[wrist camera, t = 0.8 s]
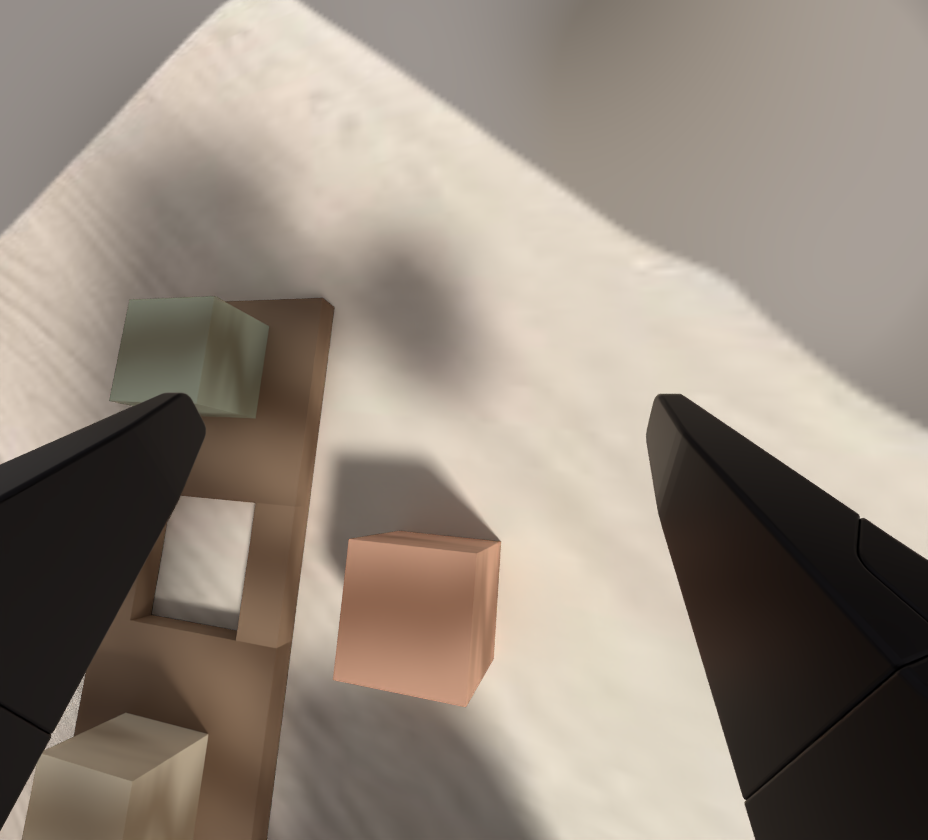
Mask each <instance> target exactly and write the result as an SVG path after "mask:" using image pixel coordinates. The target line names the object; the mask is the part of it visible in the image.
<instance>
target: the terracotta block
mask: <svg viewBox="0 0 928 840" xmlns="http://www.w3.org/2000/svg"><path fill="white" fill-rule="evenodd" d="M500 550H501V542H500V541H491V540H481V539H472V538H462V537H453V536H443V535H434V534H424V533H415V532H405V531H394V532H388V533H382V534H376V535H370V536H364V537H358V538H352V539H349V542H348V551H347V560H346V569H345V578H344V586H343V595H342V604H341V613H340V622H339V631H338V640H337V649H336V658H335V666H334V675H333V680H335V681H340V682H345V683H350V684H355V685H360V686H365V687H370V688H375V689H379V690H384V691H389V692H394V693H399V694H404V695H409V696H414V697H419V698H424V699H428V700H433V701H438V702H443V703H448V704H453V705H458V706H463V707H466V706H467V704H468V703H469V701H470V699H471V697H472V696H473V694H474V692H475V691H476V689H477V687H478V685H479V684H480V682H481V680H482V678H483V677H484V675H485V673H486V671H487V670H488V668H489V666H490V664H491V663H492V661H493V659H494V645H495V629H496V613H497V598H498V582H499V566H500Z"/></svg>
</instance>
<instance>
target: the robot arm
mask: <svg viewBox="0 0 928 840" xmlns="http://www.w3.org/2000/svg"><path fill="white" fill-rule="evenodd" d="M205 436H206V426H205V423H204V421H203V419H202V417H201V416H200V414H199V412H198V410H197V408H196V406H195V404H194V402H193V400H192V399H191V397H190V396H189V395H187V394H185V393H170V392H169V393H162V394H160V395H158V396H155V397H153V398H151V399H148V400H146V401H144V402H142V403H139V404H137V405H135V406H133V407H130V408H128V409H126V410H123V411H121V412H119V413H117V414H114V415H112V416H110V417H108V418H105V419H103V420H101V421H98V422H96V423H94V424H92V425H89V426H87V427H85V428H82V429H80V430H78V431H76V432H73V433H71V434H69V435H67V436H64V437H62V438H60V439H57V440H55V441H53V442H51V443H48V444H46V445H44V446H42V447H39V448H37V449H35V450H32V451H30V452H28V453H26V454H23V455H21V456H19V457H17V458H14V459H12V460H10V461H7V462H5V463H3V464H1V465H0V831H1V829H2V827H3V825H4V823H5V821H6V819H7V818H8V816H9V814H10V812H11V810H12V808H13V807H14V805H15V803H16V801H17V799H18V797H19V795H20V794H21V792H22V790H23V788H24V786H25V784H26V782H27V781H28V779H29V777H30V775H31V773H32V771H33V770H34V768H35V766H36V764H37V762H38V760H39V758H40V757H41V755H42V753H43V751H44V749H45V747H46V746H47V744H48V742H49V740H50V738H51V733H53V732H54V730H55V728H56V726H57V724H58V722H59V721H60V719H61V717H62V715H63V713H64V711H65V710H66V708H67V706H68V704H69V702H70V700H71V698H72V697H73V695H74V693H75V691H76V689H77V687H78V686H79V684H80V682H81V680H82V678H83V676H84V674H85V673H86V671H87V669H88V667H89V665H90V663H91V662H92V660H93V658H94V656H95V654H96V652H97V650H98V649H99V647H100V645H101V643H102V641H103V639H104V638H105V636H106V634H107V632H108V630H109V628H110V626H111V625H112V623H113V621H114V619H115V617H116V615H117V614H118V612H119V610H120V608H121V606H122V604H123V602H124V601H125V599H126V597H127V595H128V593H129V591H130V590H131V588H132V586H133V584H134V582H135V580H136V578H137V577H138V575H139V573H140V571H141V569H142V567H143V566H144V564H145V562H146V560H147V558H148V556H149V555H150V553H151V551H152V549H153V547H154V545H155V543H156V542H157V540H158V538H159V536H160V534H161V532H162V531H163V529H164V527H165V525H166V523H167V521H168V519H169V518H170V516H171V514H172V512H173V510H174V508H175V506H176V504H177V502H178V500H179V498H180V496H181V494H182V492H183V489H184V487H185V485H186V482H187V480H188V477H189V475H190V472H191V470H192V468H193V465H194V463H195V460H196V458H197V455H198V453H199V451H200V448H201V446H202V443H203V441H204V439H205ZM646 442H647V448H648V455H649V461H650V467H651V473H652V479H653V485H654V491H655V498H656V504H657V509H658V514H659V518H660V522H661V525H662V529H663V532H664V535H665V539H666V542H667V545H668V549H669V552H670V555H671V559H672V562H673V565H674V569H675V572H676V575H677V579H678V582H679V586H680V589H681V592H682V596H683V599H684V602H685V606H686V609H687V612H688V616H689V619H690V622H691V626H692V629H693V632H694V636H695V639H696V642H697V646H698V649H699V652H700V656H701V659H702V662H703V666H704V669H705V672H706V676H707V679H708V682H709V686H710V689H711V692H712V696H713V699H714V702H715V706H716V709H717V712H718V716H719V719H720V722H721V726H722V729H723V732H724V736H725V739H726V742H727V746H728V749H729V752H730V756H731V759H732V762H733V766H734V769H735V772H736V776H737V779H738V782H739V786H740V789H741V792H742V796H743V798H744V799H745V800H746V801H745V807H746V810H747V814H748V817H749V820H750V824H751V827H752V830H753V834H754V837H755V840H928V560H927V559H925V558H924V557H922V556H921V555H919V554H918V553H916V552H915V551H913V550H912V549H910V548H909V547H907V546H905V545H904V544H902V543H901V542H899V541H898V540H896V539H895V538H893V537H892V536H890V535H889V534H887V533H886V532H884V531H883V530H881V529H880V528H878V527H877V526H876V525H874V524H873V523H871V522H870V521H868V520H867V519H865V518H861V519H860V516H859V514H858V513H856V512H855V511H853V510H852V509H850V508H849V507H847V506H846V505H844V504H843V503H841V502H840V501H838V500H837V499H835V498H834V497H832V496H831V495H830V494H828V493H827V492H825V491H824V490H822V489H821V488H819V487H818V486H816V485H815V484H813V483H812V482H810V481H809V480H807V479H806V478H804V477H803V476H802V475H800V474H799V473H797V472H796V471H794V470H793V469H791V468H790V467H788V466H787V465H785V464H784V463H782V462H781V461H779V460H778V459H776V458H775V457H774V456H772V455H771V454H769V453H768V452H766V451H765V450H763V449H762V448H760V447H759V446H757V445H756V444H754V443H753V442H751V441H750V440H748V439H747V438H745V437H744V436H743V435H741V434H740V433H738V432H737V431H735V430H734V429H732V428H731V427H729V426H728V425H726V424H725V423H723V422H722V421H720V420H719V419H717V418H716V417H715V416H713V415H712V414H710V413H709V412H707V411H706V410H704V409H703V408H701V407H700V406H698V405H697V404H695V403H694V402H692V401H691V400H689V399H688V398H687V397H685V396H683V395H682V394H658V395H657V396H656V397H655V399H654V402H653V406H652V410H651V414H650V418H649V422H648V427H647V432H646Z"/></svg>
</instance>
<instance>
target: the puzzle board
mask: <svg viewBox="0 0 928 840" xmlns="http://www.w3.org/2000/svg"><path fill="white" fill-rule="evenodd" d="M333 314H334V306H332V305H331V304H330V303H328V302H327V301H326V300H324V299H323V298H307V299H281V300H254V301H227V302H224V301H223V300H221V299H219V298H217V297H215V296H205V297H181V298H157V299H133V300H129V304H128V309H127V314H126V319H125V324H124V329H123V334H122V339H121V344H120V349H119V354H118V359H117V364H116V369H115V374H114V379H113V384H112V389H111V394H110V399H109V401H112V402H117V403H122V404H127V405H131V406H135V405H137V404H139V403H142V402H144V401H146V400H148V399H151V398H153V397H155V396H158V395H160V394H162V393H169V392H170V393H185V394H187V395H189V396H190V397H191V399H192V400H193V402H194V404H195V406H196V408H197V410H198V412H199V414H200V416H201V417H202V419H203V421H204V423H205V426H206V436H205V439H204V441H203V443H202V446H201V448H200V451H199V453H198V455H197V458H196V460H195V463H194V465H193V468H192V470H191V472H190V475H189V477H188V480H187V482H186V485H185V487H184V489H183V492H182V494H181V496H191V497H201V498H212V499H222V500H232V501H243V502H253V503H256V505H255V512H254V519H253V526H252V532H251V539H250V546H249V553H248V560H247V567H246V574H245V581H244V588H243V595H242V602H241V608H240V615H239V622H238V629H237V631H236V630H231V629H225V628H220V627H214V626H209V625H203V624H198V623H193V622H187V621H182V620H176V619H171V618H165V617H160V616H155V615H151V612H152V607H153V601H154V595H155V589H156V583H157V578H158V572H159V566H160V560H161V554H162V549H163V543H164V537H165V531H166V525H167V523H166V525H165V527H164V529H163V531H162V532H161V534H160V536H159V538H158V540H157V542H156V543H155V545H154V547H153V549H152V551H151V553H150V555H149V556H148V558H147V560H146V562H145V564H144V566H143V567H142V569H141V571H140V573H139V575H138V577H137V578H136V580H135V582H134V584H133V586H132V588H131V590H130V591H129V593H128V595H127V597H126V599H125V601H124V602H123V604H122V606H121V608H120V610H119V612H118V614H117V615H116V617H115V619H114V621H113V623H112V625H111V626H110V628H109V630H108V632H107V634H106V636H105V638H104V639H103V641H102V643H101V645H100V647H99V649H98V650H97V652H96V654H95V656H94V658H93V660H92V662H91V663H90V665H89V667H88V669H87V671H86V674H85V679H84V685H83V690H82V695H81V700H80V706H79V711H78V716H77V721H76V727H75V732H74V737H72V738H70V739H68V740H66V741H64V742H61V743H59V744H57V745H55V746H53V747H51V748H48V749H46V750H44V751H43V753H42V755H41V757H40V758H39V760H38V762H37V766H36V771H35V776H34V781H33V786H32V791H31V796H30V801H29V806H28V811H27V816H26V821H25V826H24V831H23V836H22V840H267V834H268V826H269V818H270V810H271V802H272V794H273V786H274V778H275V771H276V763H277V755H278V747H279V739H280V731H281V723H282V715H283V708H284V700H285V692H286V684H287V676H288V668H289V660H290V653H291V645H292V637H293V629H294V621H295V613H296V605H297V597H298V590H299V582H300V574H301V566H302V558H303V550H304V542H305V534H306V527H307V519H308V511H309V503H310V495H311V487H312V479H313V471H314V464H315V456H316V448H317V440H318V432H319V424H320V416H321V408H322V401H323V393H324V385H325V377H326V369H327V361H328V353H329V346H330V338H331V330H332V322H333Z"/></svg>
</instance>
